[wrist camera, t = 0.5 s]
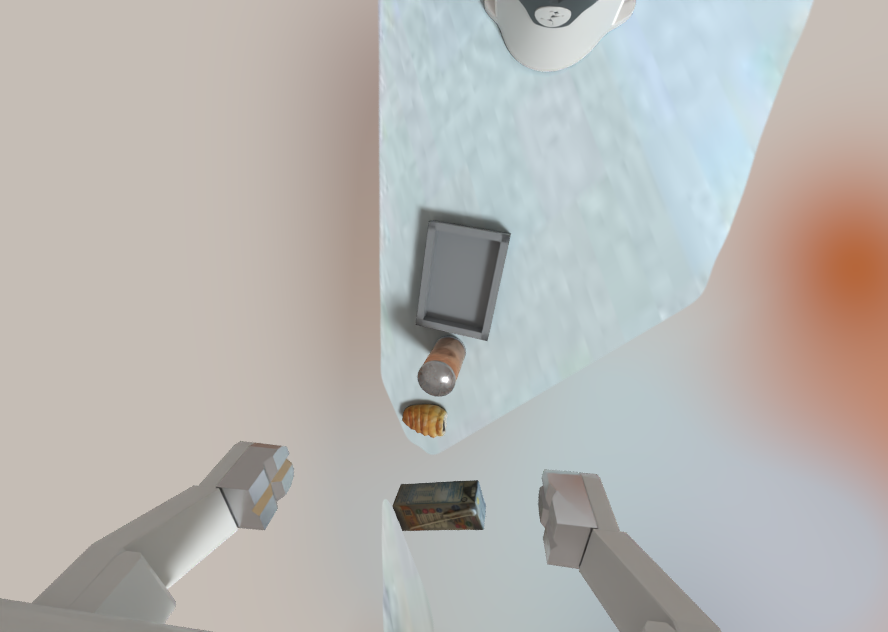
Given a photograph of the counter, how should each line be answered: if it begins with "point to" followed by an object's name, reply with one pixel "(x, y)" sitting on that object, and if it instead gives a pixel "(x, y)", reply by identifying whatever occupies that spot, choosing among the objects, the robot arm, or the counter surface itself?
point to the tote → (461, 278)
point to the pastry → (426, 419)
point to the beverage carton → (440, 506)
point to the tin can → (442, 366)
